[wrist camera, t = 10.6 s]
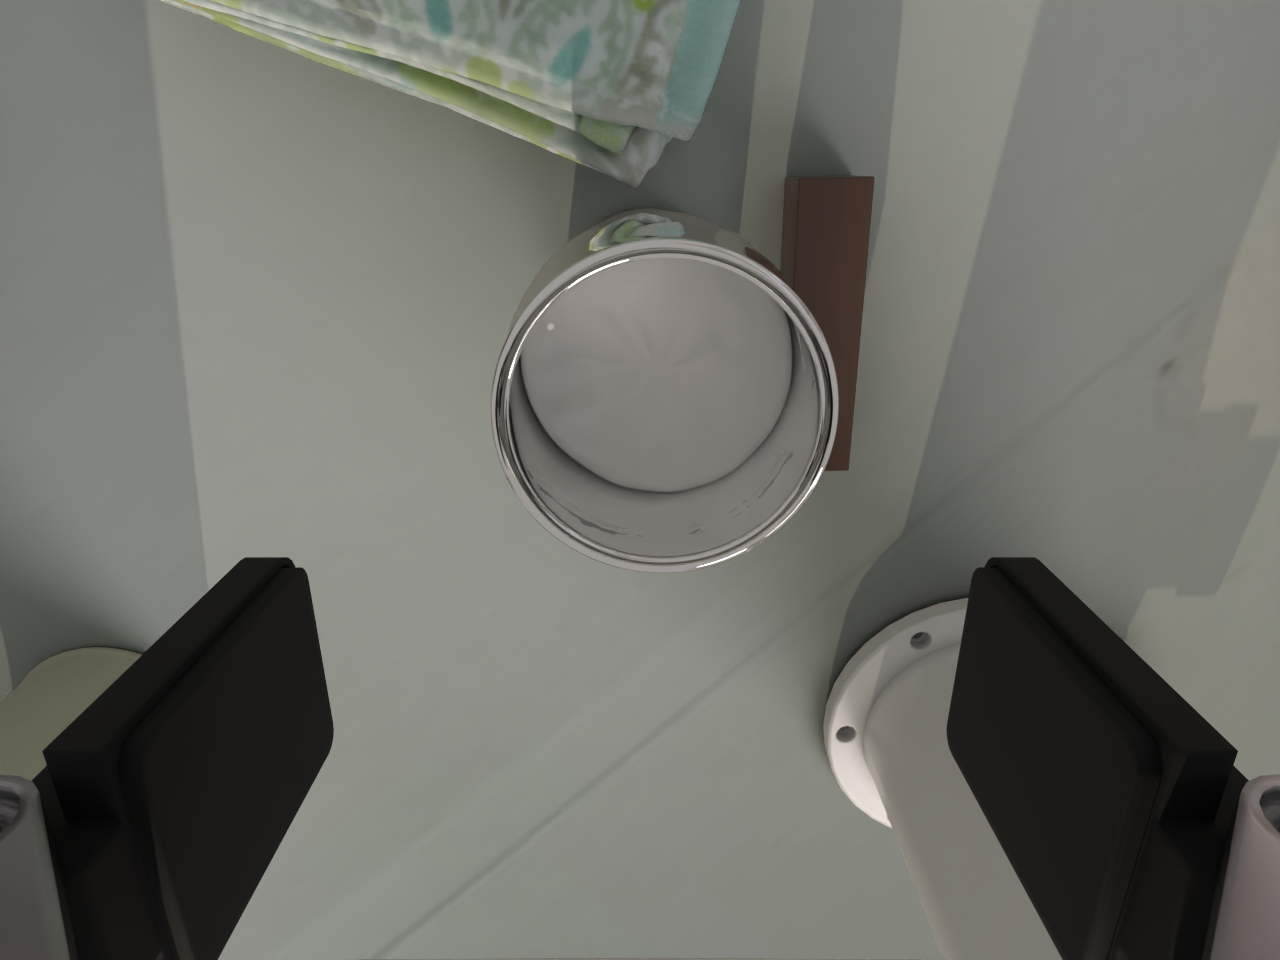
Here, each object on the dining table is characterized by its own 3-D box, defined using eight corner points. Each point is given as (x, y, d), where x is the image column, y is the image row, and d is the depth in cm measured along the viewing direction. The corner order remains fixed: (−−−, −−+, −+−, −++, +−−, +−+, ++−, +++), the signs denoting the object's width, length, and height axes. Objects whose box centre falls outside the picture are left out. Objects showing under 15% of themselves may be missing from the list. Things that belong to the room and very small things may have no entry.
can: (134, 612, 33) (-114, 838, 22) (268, 765, 36) (110, 1029, 25) (-29, 696, 35) (-339, 947, 24) (113, 836, 38) (-102, 1115, 27)
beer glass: (665, 150, 27) (704, 135, 13) (780, 312, 29) (921, 449, 15) (511, 279, 28) (399, 390, 14) (631, 424, 30) (633, 642, 17)
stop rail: (854, 175, 27) (874, 176, 25) (832, 447, 31) (848, 470, 29) (784, 176, 27) (799, 177, 25) (771, 449, 31) (782, 472, 29)
